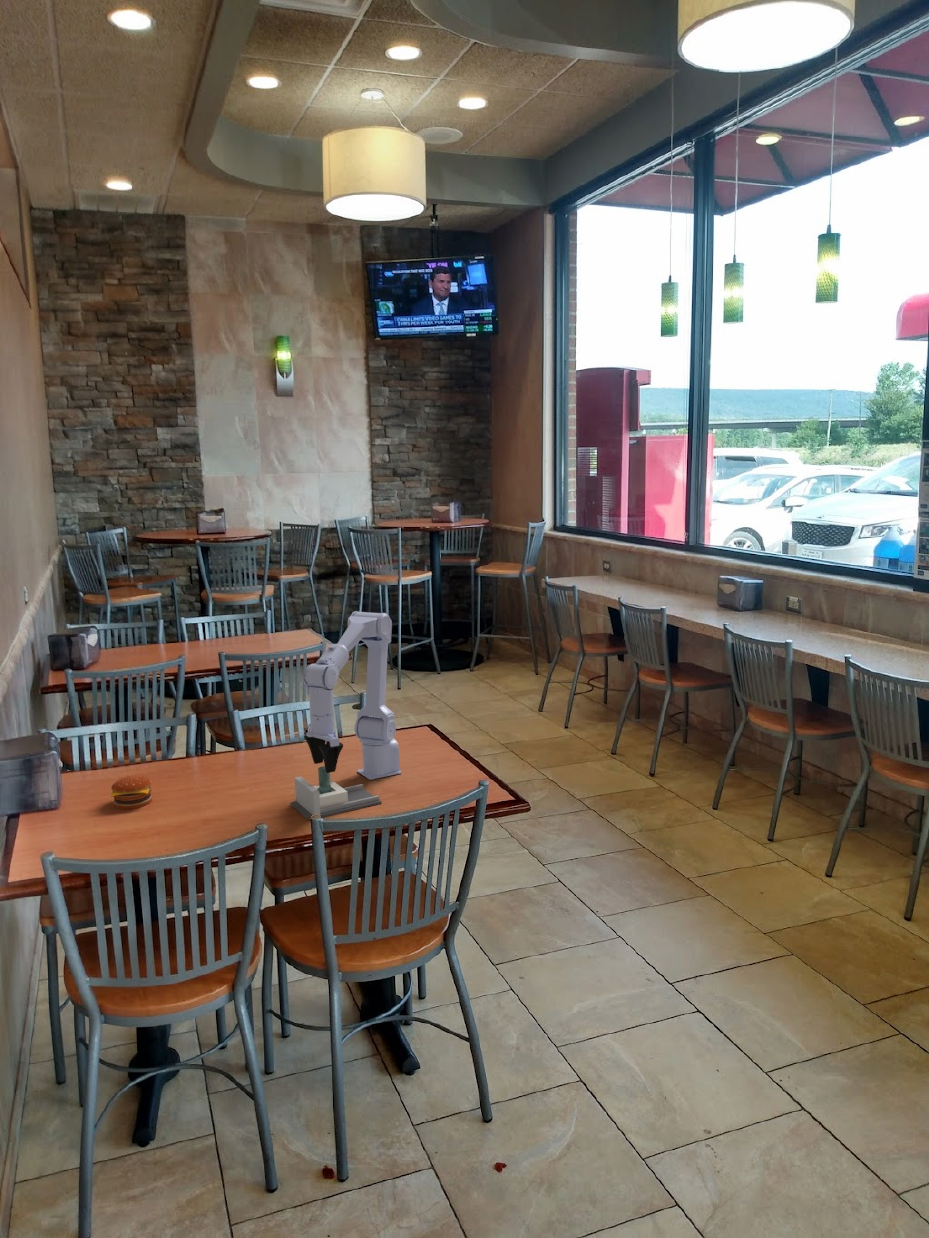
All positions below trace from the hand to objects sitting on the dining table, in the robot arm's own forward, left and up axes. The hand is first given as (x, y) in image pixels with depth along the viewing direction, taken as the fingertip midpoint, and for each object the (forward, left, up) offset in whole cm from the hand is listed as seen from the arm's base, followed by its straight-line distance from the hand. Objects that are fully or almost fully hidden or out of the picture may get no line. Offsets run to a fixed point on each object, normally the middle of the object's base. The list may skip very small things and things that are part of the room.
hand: (324, 767), depth 222 cm
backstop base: (-2, 0, -10) cm, 10 cm away
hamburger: (+40, -29, -10) cm, 50 cm away
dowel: (0, 0, -8) cm, 8 cm away
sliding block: (0, 0, -9) cm, 9 cm away
